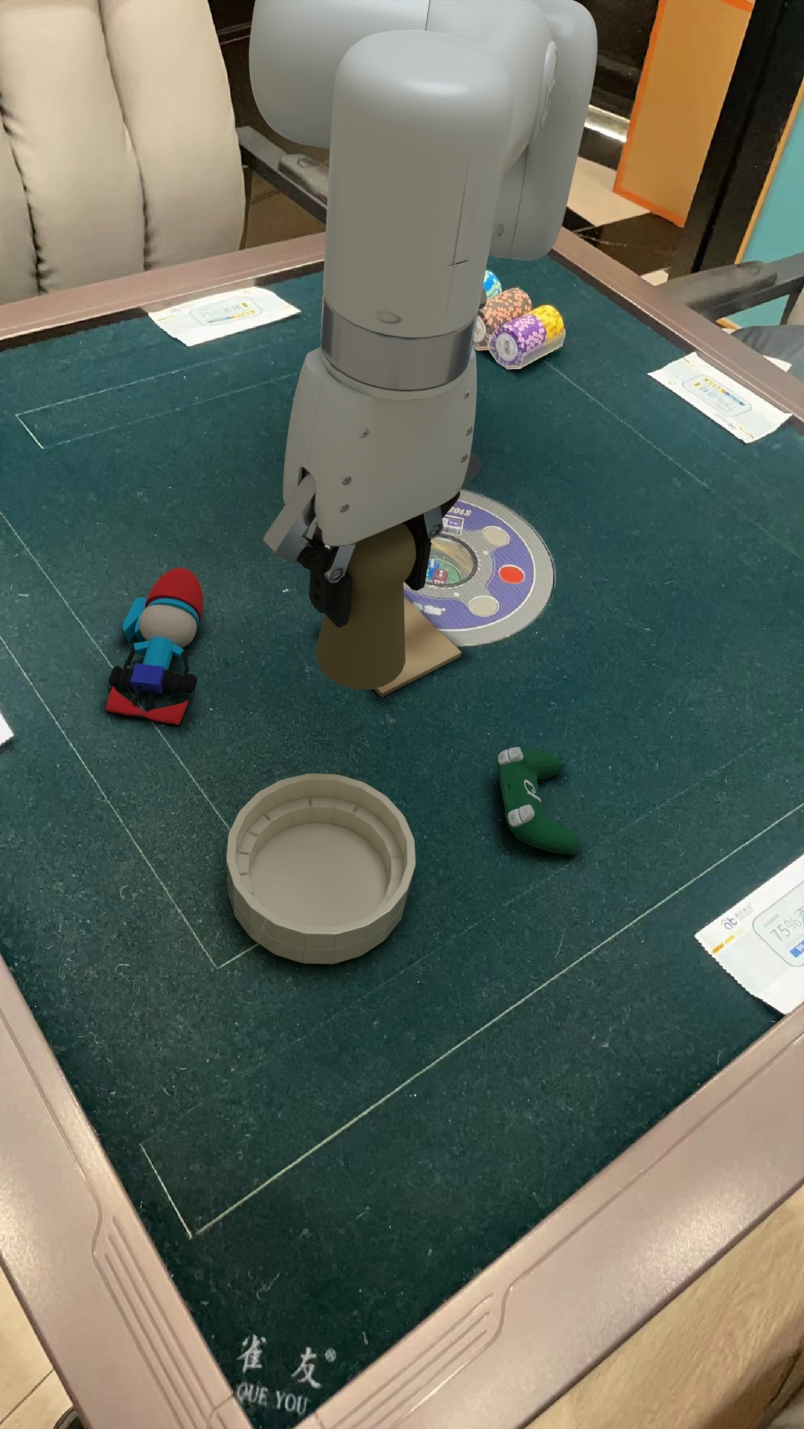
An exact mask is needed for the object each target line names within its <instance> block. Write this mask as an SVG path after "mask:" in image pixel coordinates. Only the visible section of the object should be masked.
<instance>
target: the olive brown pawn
mask: <svg viewBox="0 0 804 1429" xmlns="http://www.w3.org/2000/svg"><path fill="white" fill-rule="evenodd" d="M332 547H333V546H329V547H328V548H329V550H330V551H331V550H332ZM415 559H416V547H415V540H414V538H413V536H412V534H411V532H410V530H409V529H408V527H407V526H406V525H405V524H404V523H403V522H402V523H400V524H398V525H395V526H393V527H391V528H388V529H386V530H384V531H381V532H379V533H377V534H374V535H372V536H369V537H367V538H365V539H362V540H360V541H357V543H356V546H355V548H354V551H353V554H352V556H351V559H350V562H349V564H348V567H347V570H346V572H347V573H348V574H349V575H350V576H351V578H352V581H353V583H352V594H351V604H350V614H349V621H348V622H347V625H345V626H342V627H340V628H338V627H337V626H336V625H335V624H334V623H333V622H332V621H331V620H330V619H329V618H328V617H327V616H326V615H325V614H324V616H323V620H322V623H321V627H320V631H319V635H318V639H317V643H316V645H315V646H316V647H315V661H316V663H317V665H318V668H319V670H320V671H321V672H322V673H323V674H324V675H325V676H326V677H327V678H328V679H329V680H331V681H332V682H334V683H336V684H338V685H339V686H342V687H345V688H349V689H353V690H374V688H379V687H383V686H385V685H387V684H388V683H390V682H392V681H394V680H395V679H396V678H397V677H398V676H399V675H400V673H401V672H402V670H403V668H404V665H405V662H406V658H405V619H404V597H405V585H404V584H405V583H404V581H405V580H406V579H407V578H408V577H409V575H410V573H411V571H412V568H413V566H414V563H415Z"/></svg>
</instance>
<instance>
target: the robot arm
mask: <svg viewBox="0 0 804 1429" xmlns="http://www.w3.org/2000/svg"><path fill="white" fill-rule="evenodd" d="M597 59H598V31H597V27H596V23H595V20H594V18H593V15H592V14H591V12H590V11H589V10H588V9H587V8H586V7H585V6H584V5H583V4H581V3H580V2H578V1H576V0H255V1H254V6H253V12H252V20H251V26H250V36H249V47H248V68H249V70H248V71H249V78H250V85H251V90H252V94H253V98H254V101H255V105H256V107H257V110H258V111H259V113H260V115H261V116H262V118H263V120H264V121H265V123H266V124H267V125H268V126H269V128H271V129H272V130H273V131H274V132H275V133H277V134H278V135H280V136H281V137H283V138H284V139H286V140H289V141H290V142H293V143H295V144H299V145H306V146H311V147H314V148H315V147H316V148H319V149H320V148H321V149H326V150H327V149H328V150H329V161H328V162H329V163H328V182H327V201H326V221H325V238H324V240H325V241H324V243H325V244H324V258H323V260H324V261H323V263H324V264H323V281H322V301H321V302H322V303H321V320H320V340H319V341H320V343H319V344H320V345H319V346H318V347H317V348H315V349H313V350H311V351H309V352H308V353H307V354H306V355H305V358H304V361H303V363H302V367H301V369H300V372H299V376H298V380H297V385H296V388H295V391H294V396H293V401H292V406H291V411H290V416H289V422H288V429H287V437H286V443H285V444H286V445H285V454H284V463H283V464H284V465H283V480H282V481H283V483H282V498H283V503H284V506H283V508H282V509H281V511H280V512H279V513H278V515H277V516H276V518H275V520H274V521H273V522H272V524H271V525H270V526H269V528H268V530H267V531H266V533H265V534H264V536H263V538H262V543H263V545H264V546H265V547H266V548H267V549H268V550H269V551H270V552H271V553H272V554H273V555H274V556H275V558H277V559H280V560H284V561H287V562H290V563H293V564H299V565H301V566H302V567H303V568H304V569H306V570H309V586H308V596H309V602H310V603H311V605H312V606H313V608H314V609H315V610H316V611H317V612H318V613H319V614H324V615H326V616H327V617H328V618H329V619H330V620H331V621H332V622H333V623H334V624H335V625H336V626H337V627H338V628H340V627H342V626H345V625H347V622H348V621H349V614H350V604H351V594H352V583H353V581H352V578H351V576H350V575H349V574H348V573H347V572H346V570H347V567H348V564H349V562H350V559H351V556H352V554H353V551H354V548H355V546H356V543H357V541H360V540H362V539H365V538H367V537H369V536H372V535H374V534H377V533H379V532H381V531H384V530H386V529H388V528H391V527H393V526H395V525H398V524H400V523H402V522H403V523H404V524H405V525H406V526H407V527H408V529H409V530H410V532H411V534H412V536H413V538H414V540H415V547H416V559H415V563H414V566H413V568H412V571H411V573H410V575H409V577H408V578H407V579H406V580H405V581H404V584H405V585H406V586H407V587H408V588H409V589H410V590H411V591H415V592H418V591H420V590H422V589H424V588H425V586H426V581H427V574H428V568H429V562H430V558H431V551H432V546H433V543H432V540H433V539H436V538H437V537H439V536H440V534H441V533H442V532H443V530H444V518H445V516H446V515H447V514H448V513H449V511H450V510H451V509H452V508H453V506H454V505H455V504H456V503H457V502H458V501H459V499H460V496H461V491H464V490H465V488H466V487H467V486H468V485H469V484H470V483H471V482H472V480H473V479H475V477H476V476H478V474H479V473H480V471H481V470H482V468H483V462H482V461H481V460H480V458H479V457H478V456H477V455H476V453H475V452H474V451H473V450H472V447H473V446H472V445H473V441H474V440H473V438H474V430H475V421H476V411H477V394H478V392H477V391H478V381H477V379H478V378H477V377H478V375H477V372H478V371H477V356H476V355H477V354H476V351H475V348H474V346H473V345H474V340H475V334H476V327H477V322H478V316H479V312H480V311H479V310H483V309H484V308H485V306H486V305H487V301H488V296H487V292H486V288H485V287H484V282H485V277H486V271H487V265H488V259H489V257H495V258H500V259H501V258H502V259H508V260H516V261H535V260H539V259H541V258H543V257H546V255H548V254H549V253H550V252H551V251H552V249H553V247H554V246H555V244H556V242H557V239H558V238H559V235H560V232H561V229H562V226H563V222H564V219H565V214H566V210H567V206H568V201H569V198H570V192H571V187H572V183H573V178H574V174H575V170H576V164H577V161H578V156H579V152H580V147H581V142H582V139H583V134H584V129H585V126H586V125H585V124H586V119H587V116H588V111H589V106H590V102H591V97H592V92H593V86H594V81H595V75H596V68H597ZM306 532H307V533H306ZM305 533H306V535H305ZM327 546H328V547H327ZM330 546H333V547H332V550H331V551H330V550H329V548H330Z"/></svg>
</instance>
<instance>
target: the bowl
mask: <svg viewBox="0 0 804 1429" xmlns="http://www.w3.org/2000/svg"><path fill="white" fill-rule="evenodd" d="M226 845H227V846H226V857H225V858H226V859H225V860H226V888H227V896H228V899H229V902H230V905H231V908H232V912H233V915H234V918H235V919H236V920H237V921H238V923H239V924H240V925H241V927H242V928H243V929H244V931H245V932H246V934H247V935H248V937H250V938H251V939H252V940H253V941H255V942H256V943H258V944H259V945H261V946H262V947H263V948H265V949H266V950H268V951H269V952H270V953H272V954H274V955H275V956H278V957H281V958H285V959H288V960H291V961H294V962H297V963H301V964H314V965H315V964H316V965H318V964H319V965H321V964H322V965H334V964H338V963H342V962H344V961H348V960H352V959H355V958H360V957H362V956H363V955H365V954H366V953H368V952H369V951H371V950H372V949H374V948H376V947H378V946H379V945H381V943H383V942H385V940H386V939H387V938H388V937H389V936H390V934H391V933H392V932H393V931H394V929H395V928H396V927H397V925H398V924H399V923H400V921H401V920H402V918H403V915H404V912H405V909H406V905H407V903H408V899H409V897H410V892H411V887H412V884H413V880H414V879H413V878H414V876H415V875H414V874H415V870H416V863H417V861H416V842H415V838H414V836H413V833H412V830H411V828H410V826H409V823H408V821H407V819H406V817H405V815H404V814H403V813H402V812H401V810H400V809H399V808H398V807H397V806H396V805H395V804H394V803H393V802H392V801H391V799H390V798H389V797H387V795H385V794H383V793H382V792H381V791H379V790H377V789H376V788H374V787H372V786H371V785H369V784H367V783H366V782H364V781H362V780H358V779H354V778H351V777H348V776H345V775H340V774H337V773H333V774H332V773H304V774H300V775H295V776H291V777H287V778H283V779H280V780H278V781H276V782H274V783H273V784H271V785H269V786H267V787H264V789H262V790H260V791H258V792H256V794H254V796H252V798H251V799H250V800H249V801H248V802H247V803H246V804H245V805H243V807H242V808H241V809H240V810H239V811H238V813H237V815H236V817H235V820H234V822H233V824H232V826H231V827H230V830H229V832H228V834H227V844H226ZM228 892H229V893H228ZM230 899H231V900H230ZM237 917H238V918H237Z"/></svg>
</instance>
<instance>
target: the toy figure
mask: <svg viewBox="0 0 804 1429" xmlns="http://www.w3.org/2000/svg"><path fill="white" fill-rule="evenodd" d="M203 610H204V595H203V589H202V586H201V582H200V580H199V578H198V577H197V575H196V574H194V572H193V571H192V570H189V568H185V567H175V568H172V569H170V570H168V571H166V572H164V573H163V574H162V575H161V576H160V577H159V578H158V579H157V581H156V582H154V584H153V586H152V588H151V590H150V591H149V593H148V595H147V598H146V597H135V598H134V601H133V603H132V604H131V606H130V608H129V611H128V613H127V615H126V617H125V619H124V621H123V623H122V628H123V633H124V635H125V638H126V640H127V643H128V644H129V643H130V642H132V640H133V639H134V637H136V639H137V641H138V642H135V643H133V646H132V647H131V649H130V651H129V653H128V655H127V658H126V660H125V662H124V664H123V667H121V666H119V665H115V666H113V668H112V670H111V672H110V674H109V678H108V680H107V681H108V684H109V685H110V686H112V687H111V690H110V692H109V695H108V698H107V701H106V705H105V710H106V711H107V712H111V713H114V714H119V715H123V716H142V717H144V718H145V719H149V720H151V721H154V722H156V723H157V722H158V723H163V724H169V725H175V726H177V725H178V726H179V725H180V724H181V721H182V720H183V718H184V715H185V712H186V709H187V707H188V704H189V700H185V701H184V702H181V703H176V704H172V705H168V706H163V707H159V708H158V707H157V708H153V709H151V708H152V704H153V700H154V697H155V694H159V695H160V694H161V695H162V694H163V692H164V690H165V691H169V692H171V693H172V694H178V693H180V692H181V691H182V693H183V694H186V695H191V694H193V693H195V691H196V687H197V683H198V677H197V675H195V674H194V673H190V666H189V661H188V656H187V652H185V649H184V648H185V647H186V646H188V645H189V644H190V643H192V641H193V640H194V639H195V636H196V633H197V630H198V628H199V627H200V624H201V620H202V617H203V612H204V611H203ZM144 640H145V641H144ZM135 654H136V655H140V654H145V655H144V657H143V658H144V659H143V662H142V663H135V665H134V667H133V668H132V667H131V668H129V667H128V666H130V665H131V663H132V661H133V659H134V656H135ZM173 656H175V657H177V658H178V659H181V658H182V660H183V667H184V671H183V674H182V673H181V672H175V671H174V670H173V669H170V666H171V662H172V658H173ZM115 686H119V687H121V688H126V687H127V688H129V689H133V691H135V692H134V696H133V700H132V701H131V700H129V699H128V698H126V697H125V696H124V695H122V694H121V693H120V692H118V690H116V687H115ZM141 692H145V693H149V694H148V697H147V700H146V704H145V708H144V709H145V710H146V711H143V709H141V708H140V707H139V706H138V702H139V699H140V695H141Z"/></svg>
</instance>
